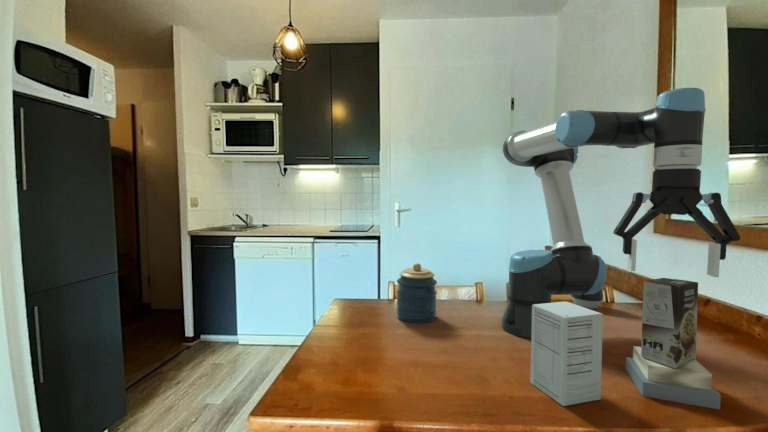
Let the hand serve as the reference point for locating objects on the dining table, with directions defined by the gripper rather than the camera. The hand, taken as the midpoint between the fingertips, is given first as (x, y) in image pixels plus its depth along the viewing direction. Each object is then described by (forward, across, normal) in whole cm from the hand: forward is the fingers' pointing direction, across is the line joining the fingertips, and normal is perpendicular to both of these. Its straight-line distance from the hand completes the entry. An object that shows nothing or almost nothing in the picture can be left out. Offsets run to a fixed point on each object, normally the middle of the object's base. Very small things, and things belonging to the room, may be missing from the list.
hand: (670, 273), depth 72 cm
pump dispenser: (+24, -6, +57) cm, 62 cm away
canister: (+24, -60, +22) cm, 68 cm away
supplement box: (+24, -20, -10) cm, 33 cm away
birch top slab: (+21, +1, 0) cm, 21 cm away
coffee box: (+18, 0, 0) cm, 18 cm away
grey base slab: (+24, 0, 0) cm, 24 cm away
